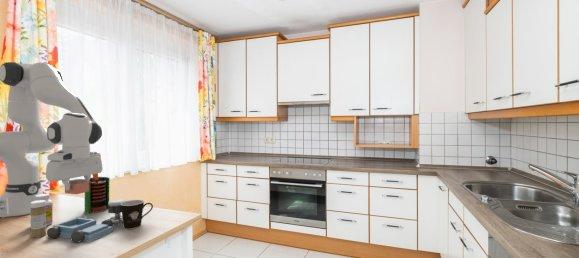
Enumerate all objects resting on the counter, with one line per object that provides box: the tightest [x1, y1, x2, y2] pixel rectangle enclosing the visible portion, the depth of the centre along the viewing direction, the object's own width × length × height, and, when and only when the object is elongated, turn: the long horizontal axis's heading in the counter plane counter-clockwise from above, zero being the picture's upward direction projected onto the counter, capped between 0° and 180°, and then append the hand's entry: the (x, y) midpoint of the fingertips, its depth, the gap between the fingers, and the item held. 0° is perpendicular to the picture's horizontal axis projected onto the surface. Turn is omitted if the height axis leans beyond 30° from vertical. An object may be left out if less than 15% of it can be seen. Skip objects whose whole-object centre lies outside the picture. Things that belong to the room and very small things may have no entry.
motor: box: [84, 173, 110, 214], centre depth 138 cm, size 10×9×20 cm
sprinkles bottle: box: [30, 200, 47, 239], centre depth 107 cm, size 5×5×14 cm
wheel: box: [107, 199, 127, 214], centre depth 123 cm, size 7×7×4 cm
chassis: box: [46, 215, 114, 244], centre depth 110 cm, size 20×14×4 cm
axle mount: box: [109, 212, 123, 226], centre depth 123 cm, size 6×6×5 cm
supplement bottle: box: [35, 193, 54, 227], centre depth 118 cm, size 7×7×13 cm
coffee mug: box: [121, 199, 154, 230], centre depth 119 cm, size 12×9×10 cm
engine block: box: [64, 178, 89, 195], centre depth 111 cm, size 6×5×5 cm
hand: (77, 188), depth 111 cm, fingers closed on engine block, 5 cm apart
